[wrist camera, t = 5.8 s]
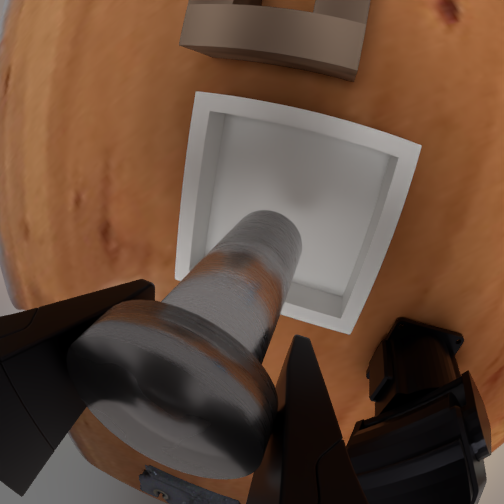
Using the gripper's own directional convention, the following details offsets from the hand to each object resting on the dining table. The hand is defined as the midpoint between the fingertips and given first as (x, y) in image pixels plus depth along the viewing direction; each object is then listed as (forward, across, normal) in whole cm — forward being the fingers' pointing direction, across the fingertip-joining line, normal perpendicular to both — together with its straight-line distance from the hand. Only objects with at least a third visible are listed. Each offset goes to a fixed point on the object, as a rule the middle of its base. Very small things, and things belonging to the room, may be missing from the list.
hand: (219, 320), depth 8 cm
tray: (+13, 0, 0) cm, 13 cm away
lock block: (+13, +3, -13) cm, 18 cm away
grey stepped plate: (+14, +4, +64) cm, 66 cm away
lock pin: (+6, 0, 0) cm, 6 cm away
